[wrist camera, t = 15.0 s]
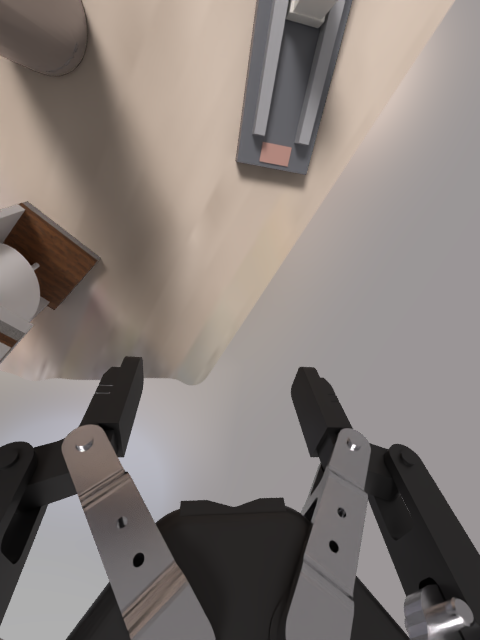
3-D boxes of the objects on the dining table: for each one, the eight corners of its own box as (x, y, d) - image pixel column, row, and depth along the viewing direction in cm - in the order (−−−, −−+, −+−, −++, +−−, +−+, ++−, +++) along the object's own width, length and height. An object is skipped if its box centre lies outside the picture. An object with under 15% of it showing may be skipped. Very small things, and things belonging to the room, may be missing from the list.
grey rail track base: (300, 173, 35) (311, 176, 32) (235, 160, 34) (238, 162, 30) (361, -66, 25) (387, -104, 21) (269, -99, 23) (280, -147, 19)
